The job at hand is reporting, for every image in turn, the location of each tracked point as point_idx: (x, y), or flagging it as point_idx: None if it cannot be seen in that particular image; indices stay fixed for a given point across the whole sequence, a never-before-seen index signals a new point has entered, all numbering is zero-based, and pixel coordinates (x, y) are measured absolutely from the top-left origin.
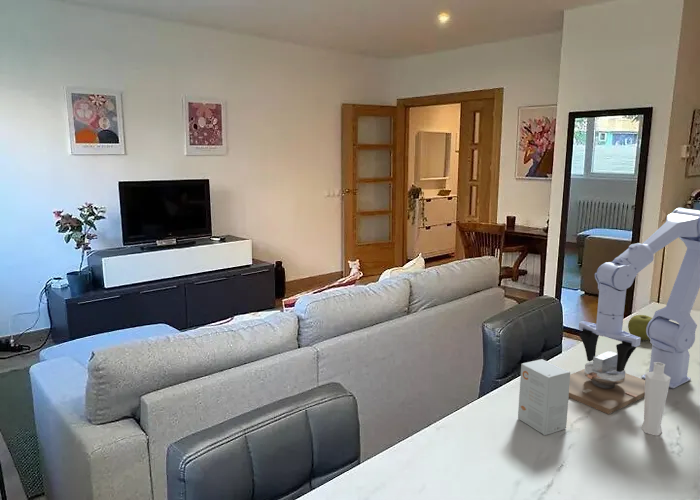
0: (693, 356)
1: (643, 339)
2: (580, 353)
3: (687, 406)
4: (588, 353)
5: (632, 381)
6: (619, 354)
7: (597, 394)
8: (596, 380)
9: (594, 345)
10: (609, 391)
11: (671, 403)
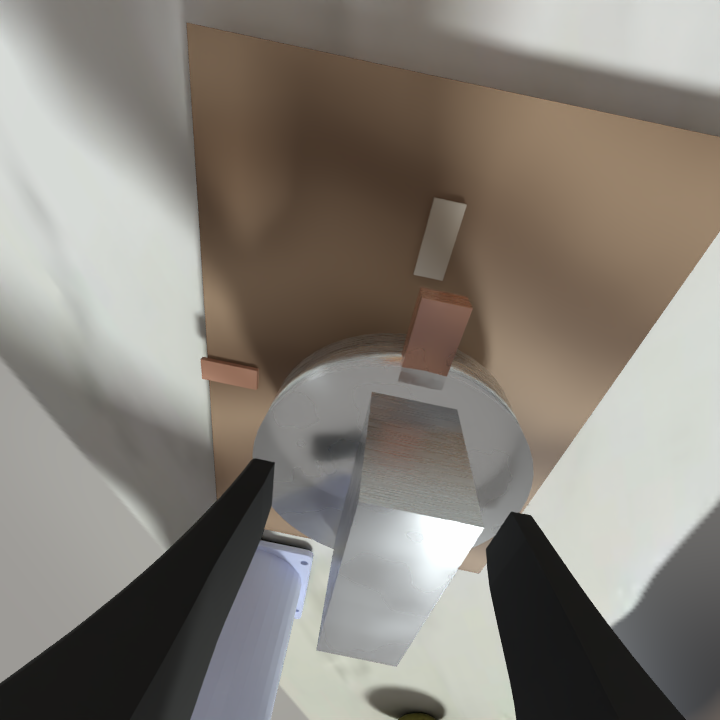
0: (279, 682)
1: (407, 717)
2: None
3: (88, 437)
4: (555, 584)
5: None
6: (139, 640)
7: (365, 246)
8: (399, 338)
9: (533, 712)
10: (328, 341)
11: (131, 427)
